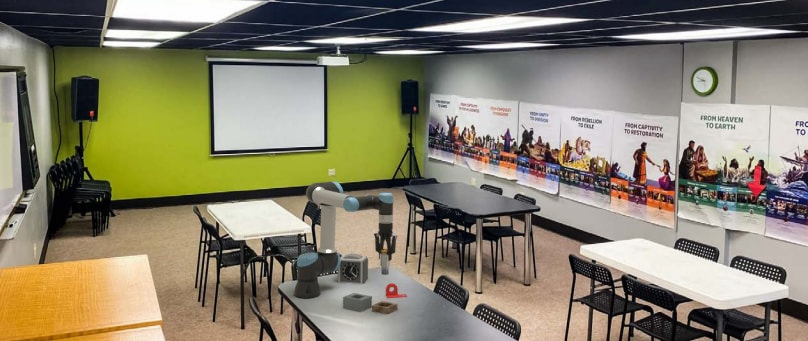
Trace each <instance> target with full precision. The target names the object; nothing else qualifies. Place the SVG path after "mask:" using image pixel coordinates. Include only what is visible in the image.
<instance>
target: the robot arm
mask: <svg viewBox="0 0 808 341" xmlns="http://www.w3.org/2000/svg"><path fill="white" fill-rule="evenodd" d="M305 195H306V198H307V200H308V201H309V202H310V203H313V204H318V206H320V209H321V211H320V231H319V234H320V235H319V248H317V250H316V252H305V253H302V254H300V255H299V256H298V257H297V262H296V266H297V274H296V275H297V276H296V277H297V279H296V284H295V288H294V291H293V293H294V296H295V297H297V298H304V299H307V298H308V299H309V298H316V297H320V296H321V295H322V292H321V288H320V284H319V280H318V279H319V276H318V275H325V274H330V273H333V272H337V271H338V268H339V266H340V263H341V256H340V253H339V252H338V250H337V248H335V244H336V219H337V218H336V216H337V208H340V209H344V210H345V212H349V213H354V212H360V211H361V212H362V211H369V210H376V211H378V231H377V232H375V233H373V237H374V244H375V248H374V249H375V253H378V260H379V266H380V267H381V256H382V252H381V249H384V246H385V242H386V249H387V250H388V254H387V265H386V267H389V268H390V267H391V261H392V260H393V258H392V257H393V256H392V255H393V254H395V253H396V246H397V240H398V239H397V238H398V235H395V234H394V232H393V229H394V226H393V225H394V223H393V222H394V195H393V193H391V192H380V193H379V194H378V195H377V194H375V195H374V194H365V195H361V196H354V195H349V194H345V193H344V190H343V187H342V186H341V184H340V183H339V182H337V181H324V182H323V181H321V182H314V183H313V182H312V183H311V184H310V185H308V187H307V188H306V190H305Z"/></svg>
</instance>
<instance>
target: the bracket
mask: <svg viewBox="0 0 808 341" xmlns="http://www.w3.org/2000/svg"><path fill="white" fill-rule="evenodd" d="M391 288H393V290H392V291H391V290H390V289H391ZM398 291H399V290H398V286H397V284H395V283H392V282H391V283H388V284H387V285H386V286H385V297H386V299H396V298H399V299H400V298H407V297H408V295H407V293H404V294H403V293H402V294H401V293H400V294H399V293H398Z"/></svg>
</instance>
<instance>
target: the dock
mask: <svg viewBox="0 0 808 341" xmlns="http://www.w3.org/2000/svg"><path fill="white" fill-rule="evenodd" d="M372 305H373V296H372V295H368V294H362V293H357V292H356V293H355V292H352V293H349V294H348V295H347V294H346V295H345V296H342V309H346V310H352V311H357V312H363V311H364V312H365V311H367V310H368V309H372Z"/></svg>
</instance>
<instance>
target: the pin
mask: <svg viewBox="0 0 808 341" xmlns="http://www.w3.org/2000/svg"><path fill="white" fill-rule="evenodd" d="M381 252H382V256H381V266H380V268H381V272H380V273H381V275H383V276H388V275H389V273H390V266H389V267H386V265H387V254H388V250H387V248H383V249H381Z"/></svg>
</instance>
